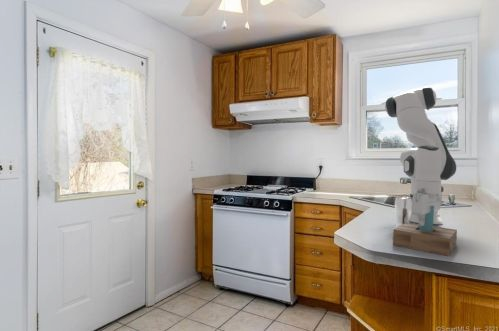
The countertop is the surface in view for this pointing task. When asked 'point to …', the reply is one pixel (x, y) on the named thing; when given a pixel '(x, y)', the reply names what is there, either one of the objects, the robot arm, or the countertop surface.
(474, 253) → the countertop surface
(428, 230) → the peg
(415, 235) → the socket block
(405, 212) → the beer glass
